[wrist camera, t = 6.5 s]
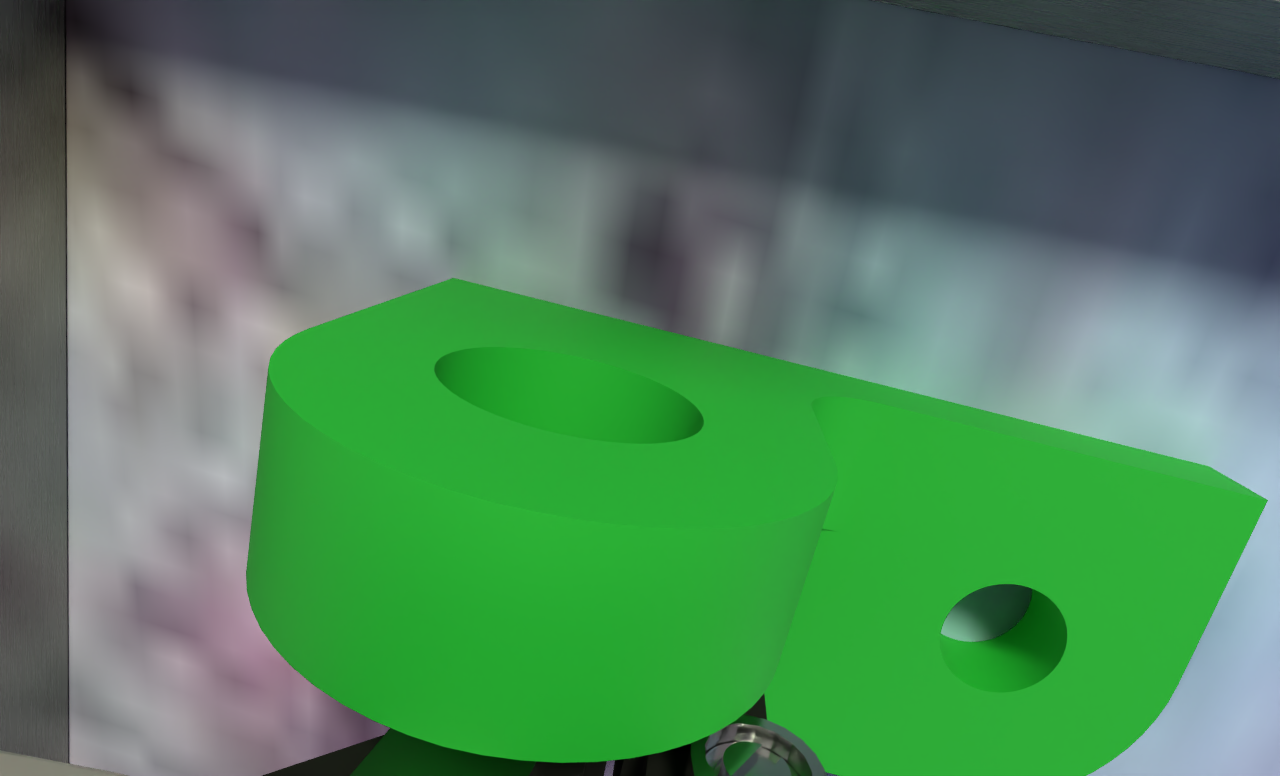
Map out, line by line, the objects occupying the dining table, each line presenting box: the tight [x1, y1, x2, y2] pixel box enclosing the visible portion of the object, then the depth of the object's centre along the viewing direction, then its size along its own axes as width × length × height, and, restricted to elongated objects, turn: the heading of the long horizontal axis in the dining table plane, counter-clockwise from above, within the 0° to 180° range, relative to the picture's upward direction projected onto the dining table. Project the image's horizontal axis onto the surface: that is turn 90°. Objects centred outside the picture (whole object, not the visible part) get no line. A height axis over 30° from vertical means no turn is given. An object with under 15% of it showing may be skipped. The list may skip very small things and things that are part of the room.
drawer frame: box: [0, 0, 1280, 763], centre depth 11 cm, size 24×20×5 cm
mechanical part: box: [246, 278, 1268, 776], centre depth 10 cm, size 12×6×8 cm, turn 77°
